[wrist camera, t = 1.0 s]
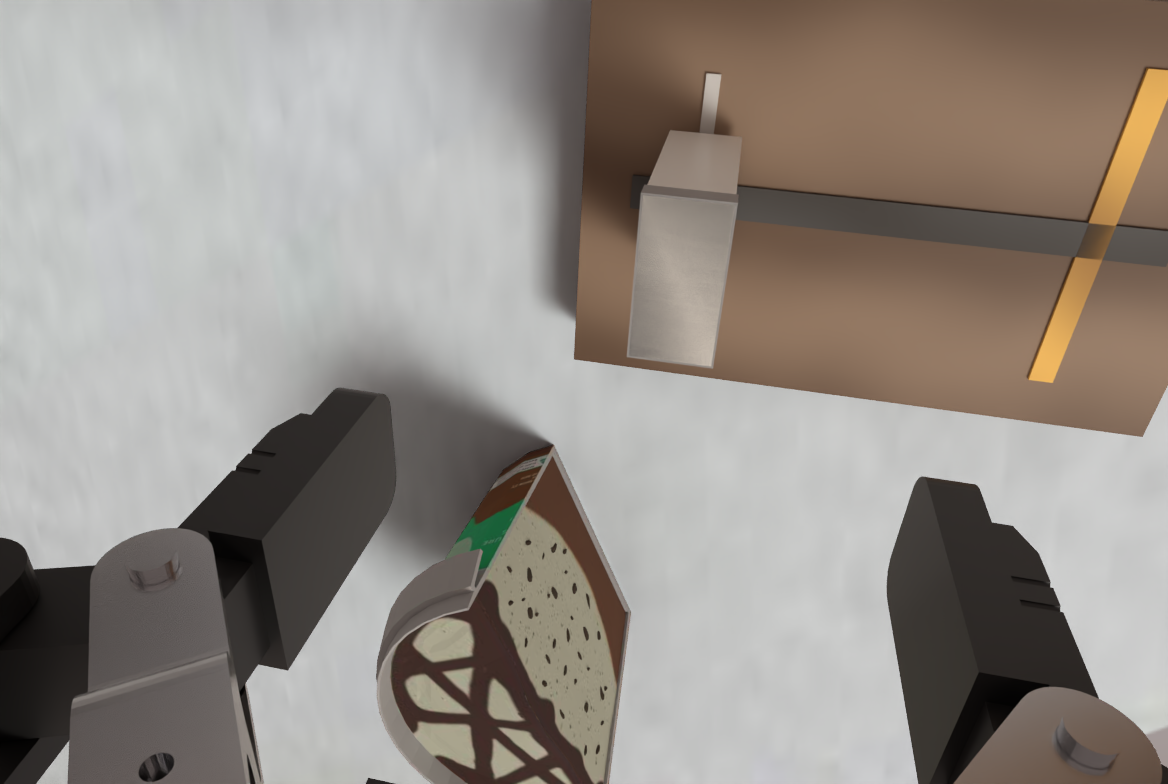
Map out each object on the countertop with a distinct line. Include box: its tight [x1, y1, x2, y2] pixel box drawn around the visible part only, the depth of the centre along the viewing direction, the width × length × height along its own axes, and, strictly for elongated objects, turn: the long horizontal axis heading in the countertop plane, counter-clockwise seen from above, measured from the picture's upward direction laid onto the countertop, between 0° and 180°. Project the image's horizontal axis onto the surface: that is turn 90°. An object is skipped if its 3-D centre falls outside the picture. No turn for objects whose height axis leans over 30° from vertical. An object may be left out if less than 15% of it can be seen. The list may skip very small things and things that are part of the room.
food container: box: [376, 445, 631, 784], centre depth 32 cm, size 12×6×10 cm, turn 21°
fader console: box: [574, 0, 1168, 437], centre depth 25 cm, size 12×18×3 cm, turn 87°
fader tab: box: [627, 130, 742, 369], centre depth 21 cm, size 4×2×6 cm, turn 177°
